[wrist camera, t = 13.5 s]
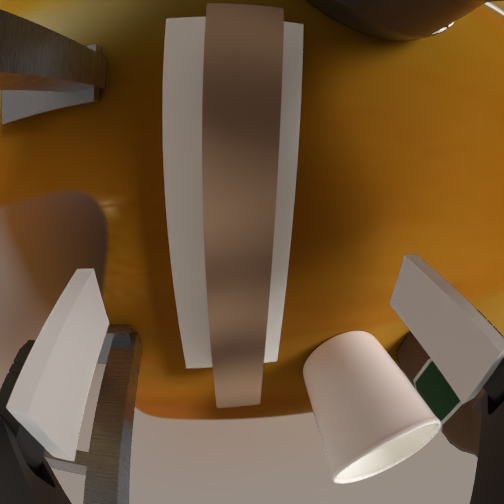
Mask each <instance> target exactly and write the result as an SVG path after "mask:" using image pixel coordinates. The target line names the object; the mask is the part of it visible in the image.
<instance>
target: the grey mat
mask: <svg viewBox="0 0 504 504" xmlns="http://www.w3.org/2000/svg"><path fill="white" fill-rule="evenodd" d="M205 22H206V17H182V18H167V19H166V27H165V42H164V60H163V95H162V130H163V166H164V187H165V203H166V217H167V229H168V240H169V250H170V260H171V269H172V278H173V286H174V293H175V301H176V308H177V315H178V322H179V328H180V334H181V341H182V346H183V352H184V358H185V363H186V368H207V367H212V356H211V344H210V332H209V319H208V305H207V289H206V272H205V251H204V227H203V191H202V95H203V62H204V40H205ZM302 65H303V24H298V23H292V22H284V36H283V69H282V95H281V119H280V140H279V159H278V177H277V194H276V211H275V226H274V241H273V256H272V270H271V283H270V296H269V309H268V321H267V333H266V344H265V356H264V363H266V362H274V361H277V358H278V350H279V343H280V335H281V327H282V319H283V310H284V302H285V293H286V284H287V275H288V265H289V256H290V245H291V235H292V224H293V213H294V201H295V189H296V175H297V162H298V147H299V130H300V112H301V91H302Z"/></svg>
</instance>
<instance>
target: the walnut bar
mask: <svg viewBox="0 0 504 504" xmlns="http://www.w3.org/2000/svg"><path fill="white" fill-rule="evenodd" d="M283 36H284V8H280V7H272V6H262V5H250V4H233V3H207V8H206V22H205V40H204V62H203V95H202V191H203V227H204V251H205V272H206V289H207V305H208V319H209V332H210V344H211V356H212V367H213V377H214V387H215V396H216V405H217V408H228V407H239V406H249V405H257V404H260V399H261V388H262V378H263V367H264V356H265V344H266V333H267V321H268V309H269V296H270V283H271V270H272V256H273V241H274V226H275V211H276V194H277V177H278V159H279V140H280V119H281V95H282V69H283Z"/></svg>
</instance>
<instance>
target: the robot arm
mask: <svg viewBox="0 0 504 504" xmlns="http://www.w3.org/2000/svg"><path fill="white" fill-rule="evenodd" d="M308 1H309V2H310V3H312V4H313V5H314V6H316V7H317V8H318V9H320V10H321V11H323V12H324V13H326V14H327V15H329V16H330V17H332V18H334V19H335V20H337V21H339V22H341V23H342V24H344V25H346V26H348V27H350V28H353V29H355V30H357V31H359V32H362V33H365V34H367V35H370V36H374V37H377V38H381V39H386V40H394V41H407V40H414V39H419V38H425V37H430V36H434V35H437V34H439V33H441V32H443V31H445V30H446V29H448V28H449V27H450V26H451V25H452V24H453V23H454V22H455V21H456V20H458V19H460V18H461V17H463V16H465V15H466V14H468V13H469V12H471V11H473V10H474V9H476V8H477V7H479V6H480V5H482V4H484V3H486V2H492V1H503V0H308ZM389 304H390V306H391V307H392V308H393V309H394V311H395V312H396V313H397V314H398V316H399V317H400V318H401V319H402V321H403V322H404V323H405V325H406V326H407V327H408V328H409V330H410V331H411V332H412V334H413V335H414V336H415V338H416V339H417V340H418V342H419V343H420V344H421V346H422V347H423V348H424V350H425V351H426V352H427V354H428V355H429V356H430V358H431V359H432V360H433V362H434V363H435V365H436V366H437V367H438V369H439V370H440V372H441V373H442V374H443V376H444V377H445V379H446V380H447V382H448V383H449V384H450V386H451V387H452V389H453V390H454V392H455V393H456V395H457V396H458V398H459V399H460V401H461V402H462V404H464V403H466V402H468V401H470V400H471V399H473V398H475V396H476V395H477V394H478V393H479V391H480V390H481V389H482V388H484V390H485V392H484V394H483V395H482V396H481V397H480V399H479V400H478V401H477V402H476V404H475V405H474V406H473V408H472V411H474V410H475V409H476V408H477V407H478V406H479V405H480V404H481V406H480V407H479V409H478V410H477V412H479V413H481V430H480V443H479V453H478V462H477V468H476V475H475V481H474V486H473V492H472V496H471V501H470V504H504V337H503V336H502V334H501V333H500V332H499V331H498V330H497V329H496V328H495V327H494V326H492V324H491V323H490V322H489V321H488V320H486V318H485V317H484V316H483V315H482V313H481V312H480V311H478V310H477V309H475V308H474V307H473V306H472V305H471V304H470V303H469V302H468V301H467V300H466V299H465V298H464V297H463V296H462V295H461V294H460V293H459V292H458V291H457V290H456V289H455V288H454V287H453V286H452V285H450V284H449V283H448V282H447V281H446V280H445V279H444V278H443V277H442V276H441V275H440V274H438V273H437V272H436V271H435V270H434V269H433V268H432V267H431V266H429V265H428V264H427V263H426V262H425V261H424V260H423V259H421V258H420V257H419V256H418V255H417V254H411V255H404V258H403V262H402V265H401V269H400V272H399V275H398V279H397V282H396V285H395V288H394V291H393V294H392V297H391V300H390V303H389ZM108 326H109V320H108V317H107V314H106V311H105V307H104V304H103V301H102V297H101V294H100V290H99V287H98V283H97V279H96V275H95V271H94V269H77V270H76V272H75V273H74V275H73V276H72V278H71V280H70V281H69V283H68V284H67V286H66V288H65V289H64V291H63V293H62V294H61V296H60V298H59V299H58V301H57V303H56V304H55V306H54V308H53V310H52V312H51V313H50V315H49V317H48V318H47V320H46V322H45V324H44V326H43V328H42V330H41V331H40V333H39V335H38V337H37V339H36V341H34V340H29V341H28V342H27V343H26V344H25V345H24V346H23V347H22V348H21V349H20V350H19V352H18V354H17V356H16V358H15V359H14V364H12V366H11V368H10V370H9V373H8V374H7V376H6V378H5V381H4V383H3V385H2V388H1V390H0V504H71V502H70V500H69V499H68V497H67V496H66V494H65V492H64V491H63V489H62V487H61V486H60V484H59V482H58V480H57V479H56V477H55V475H54V473H53V471H52V469H51V467H50V466H49V464H48V462H47V460H46V459H45V458H44V457H43V456H44V451H45V449H46V450H47V451H48V452H49V453H50V454H51V455H52V456H53V457H56V458H60V459H65V460H69V461H74V460H75V454H76V448H77V443H78V438H79V433H80V428H81V424H82V419H83V414H84V410H85V406H86V402H87V397H88V394H89V390H90V386H91V382H92V379H93V375H94V371H95V368H96V364H97V361H98V358H99V354H100V351H101V348H102V344H103V341H104V338H105V335H106V332H107V329H108Z"/></svg>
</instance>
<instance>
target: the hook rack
mask: <svg viewBox="0 0 504 504" xmlns="http://www.w3.org/2000/svg"><path fill="white" fill-rule="evenodd" d="M106 62H107V57H105V56H103V55H101V46H99V45H97V44H93V45H89V46H84V45H82V44H80V43H78V42H76V41H74V40H72V39H69V38H67V37H65V36H63V35H61V34H59V33H57V32H54V31H52V30H50V29H48V28H46V27H43V26H41V25H39V24H36V23H34V22H31V21H29V20H27V19H24V18H22V17H19V16H17V15H14V14H11V13H9V12H6V11H3V10H0V90H2V124H8V123H12V122H15V121H18V120H21V119H25V118H28V117H32V116H35V115H39V114H43V113H47V112H50V111H55V110H59V109H63V108H68V107H72V106H77V105H82V104H87V103H93V102H99V94H100V89H102V88H106ZM141 355H142V347H141V344H140V340H139V337H138V333H137V332H132V328H131V325H109V326H108V329H107V332H106V335H105V338H104V341H103V344H102V348H101V351H100V354H99V358H98V361H97V363H102V364H106V367H105V371H104V375H103V379H102V384H101V389H100V393H99V398H98V402H97V407H96V412H95V418H94V423H93V429H92V435H91V441H90V448H89V452H83V451H78V450H76V454H75V460H74V461H69V460H65V459H60V458H56V457H53V456H52V455H51V454H50V453H49V452H48V451H47V450H46V449H45V451H44V456H43V457H44V458H45V459H46V460H47V462H48V464H49V466H50V467H51V468H55V469H59V470H63V471H67V472H72V473H77V474H82V475H86V479H85V489H84V502H83V504H129V478H130V456H131V442H132V429H133V418H134V409H135V399H136V391H137V383H138V375H139V368H140V361H141Z"/></svg>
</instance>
